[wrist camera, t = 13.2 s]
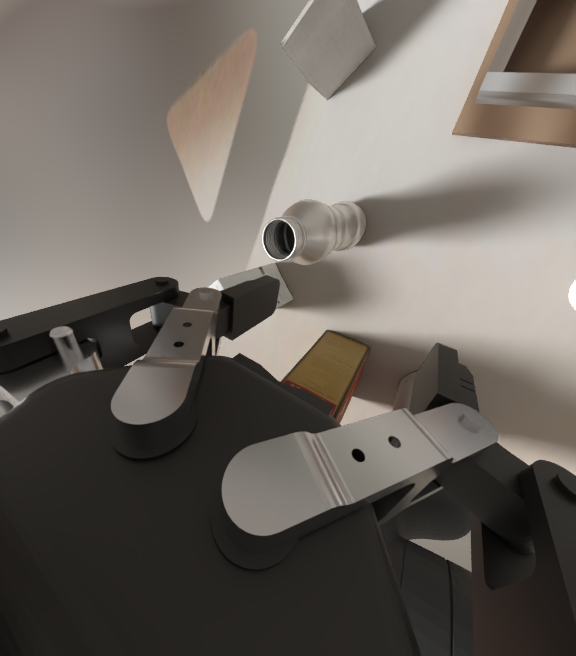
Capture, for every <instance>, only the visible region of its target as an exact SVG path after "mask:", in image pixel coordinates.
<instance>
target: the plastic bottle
mask: <svg viewBox="0 0 576 656" xmlns="http://www.w3.org/2000/svg"><path fill="white" fill-rule="evenodd" d="M365 228H366V219H365V215H364V213H363V211H362V210H361V209H360V208H359V207H358V206H357V205H356V204H354V203H352V202H339V203H337V204H334V205H332V206H327V205H325V204H323V203H321V202H319V201H315V200H301V201H299V202H297V203H295V204H293V205H292V206H291V207H289V208H288V209H287V210H286V211H285V212H284V214H283V215H282V217H279V218H275V219H273V220H271V221H269V222H268V223H267V225H266V226H265V228H264V230H263V234H262V243H263V247H264V250H265V252H266V253H267V255H268V256H269V257H270V258H272V259H273V260H276V261H285V260H290V261H292V262H294V263H296V264H300V265H312V264H315V263H317V262H319V261H321V260H322V259H324V258H325V257H326V256H327V255H328V254H330V253H331V252H332V251H344V250H348V249H350V248H352V247H353V246H355V245H356V244H357V243H358V242H359V241H360V239H361V238H362V236H363V234H364V232H365Z"/></svg>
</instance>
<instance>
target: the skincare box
mask: <svg viewBox="0 0 576 656" xmlns="http://www.w3.org/2000/svg"><path fill="white" fill-rule="evenodd" d="M265 275H268V276H271V277H273V278H276V279H278V280H279V281H280V288H279V294H278V300H277V306H276V309H277V308H279V307H281V306H282V305H284V304H286V303H288V302H290V301H291V300H293V296H292V295H291V293H290V292H289V290H288V288H287V286H286V284H285V282H284V280H283V278H282V276H281V274H280V272H279V270H278V268H277V265H276V264H275V263H272V264H268V265H265V266H261V267H258V268H255V269H251V270H248V271H244V272H241V273H237V274H233V275H230V276H227V277H224V278H220V279H218V280H216V281H215V282H214V283H213V284H212V285H210V286H209V287H208V288H213V289H216V290H218V291H222V290H224V289H227V288H229V287H232V286H235V285H237V284H241V283H243V282H245V281H249V280H255V279H257V278H260V277H262V276H265Z"/></svg>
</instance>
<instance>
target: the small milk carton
mask: <svg viewBox="0 0 576 656" xmlns="http://www.w3.org/2000/svg"><path fill="white" fill-rule="evenodd" d="M281 45H282V48H283V50H284V51H285V52H286V53H287V55H288V56H289V57H290V59H291V60H292V61H293V62H294V63H295V65H296V67H297V68H298V69H299V71H300V72H301V73H302V75H303V76H304V78H305V79H306V80H307V82H308V83H309V84H310V85H312V86H313V87H314V88H315V89H316V90H317V91H318V92H319V93H320V94H321V95H322V96H323V97H325V98H326V99H327V100H328V99H329V98H330V97H331V95H332V94H333V93H334V92H335V91H336V90H337V89H338V88H339V87H340V86H341V85H342V84H343V82H344V81H345V80H346V79H347V78H348V77H349V76H350V75H351V74H352V73H353V72H354V71H355V69H356V68H357V67H358V66H359V65H360V64H361V63H362V62H363V61H364V60H365V59H366V57H367V56H368V55H369V54H370V53H371V52H372V51H373V50H374V49H375V48H376V46H375V44H374V41H373V39H372V36H371V34H370V31H369V29H368V26H367V24H366V21H365V19H364V17H363V14H362V12H361V9H360V7H359V4H358V2H357V0H310V1H309V2H308V3H307V5H306V6H305V8H304V9H303V11H302V12H301V14H300V15H299V17H298V18H297V20H296V21H295V23H294V24H293V26H292V27H291V29H290V30H289V32H288V33H287V35H286V36H285V38H284V39H283V41H282V42H281Z"/></svg>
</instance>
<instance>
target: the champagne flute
mask: <svg viewBox="0 0 576 656" xmlns="http://www.w3.org/2000/svg"><path fill="white" fill-rule="evenodd" d="M568 296H569V302H570V304H571V306H572V307H573V308H574V309H575V310H576V280H575V281H574V282H573V284H572V285H571V287H570V289H569V294H568Z"/></svg>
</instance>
